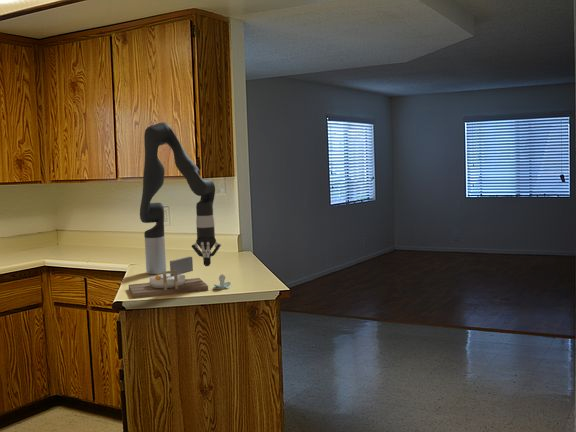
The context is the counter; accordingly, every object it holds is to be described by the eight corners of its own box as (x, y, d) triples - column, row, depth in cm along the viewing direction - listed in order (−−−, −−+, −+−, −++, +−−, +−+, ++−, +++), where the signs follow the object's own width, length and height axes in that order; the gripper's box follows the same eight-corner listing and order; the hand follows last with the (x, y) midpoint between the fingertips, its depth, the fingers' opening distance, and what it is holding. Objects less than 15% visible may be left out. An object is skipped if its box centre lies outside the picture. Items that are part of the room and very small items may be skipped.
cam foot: (178, 276, 287) (177, 255, 286) (204, 278, 280) (203, 257, 279) (142, 286, 268) (141, 264, 267) (169, 289, 261) (168, 266, 260)
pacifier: (209, 289, 270) (218, 291, 266) (208, 274, 270) (217, 275, 265) (224, 286, 275) (232, 288, 270) (223, 271, 275) (231, 273, 270)
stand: (128, 289, 274) (127, 267, 273) (199, 282, 284) (198, 261, 283) (133, 298, 257) (131, 275, 256) (208, 290, 267) (207, 268, 266)
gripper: (187, 227, 276) (189, 267, 277) (218, 226, 274) (220, 267, 276) (192, 225, 283) (194, 264, 285) (222, 224, 282) (224, 264, 283)
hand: (207, 265), depth 280 cm, fingers closed
